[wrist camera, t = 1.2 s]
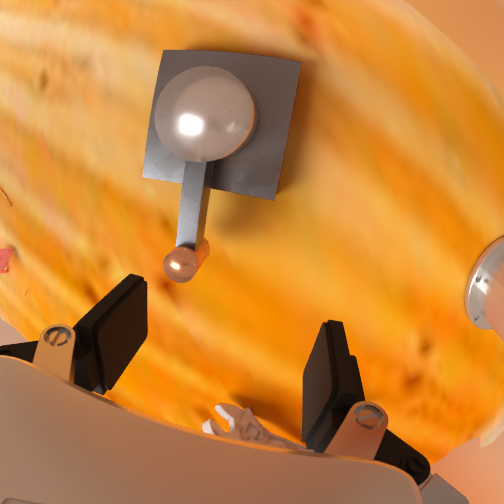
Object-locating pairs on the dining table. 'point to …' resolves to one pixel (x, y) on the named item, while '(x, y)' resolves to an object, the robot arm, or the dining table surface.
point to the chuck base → (267, 131)
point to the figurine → (5, 255)
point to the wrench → (247, 429)
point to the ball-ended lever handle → (200, 149)
